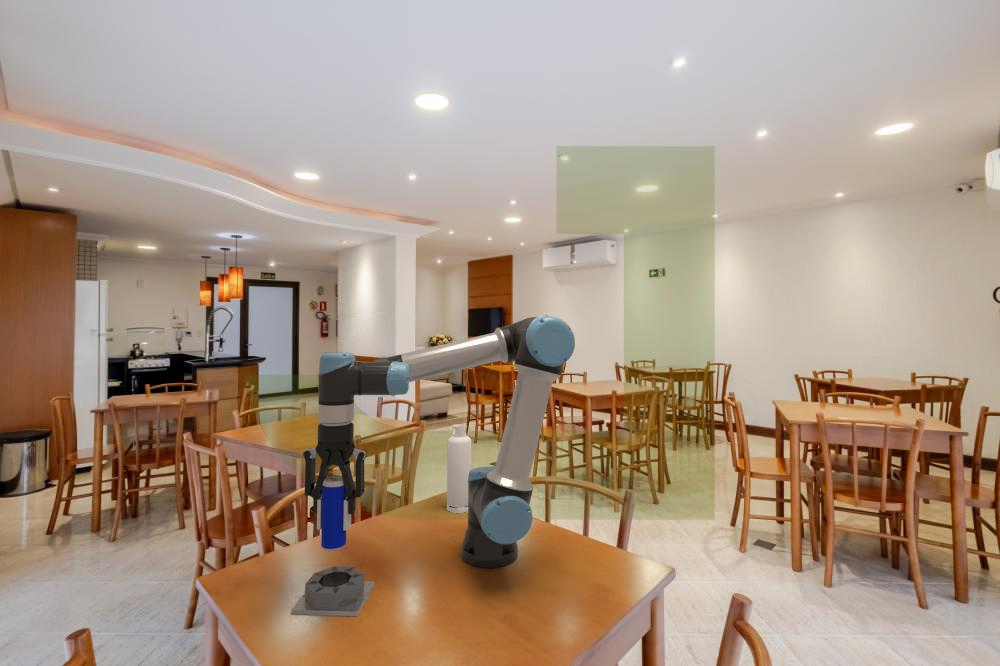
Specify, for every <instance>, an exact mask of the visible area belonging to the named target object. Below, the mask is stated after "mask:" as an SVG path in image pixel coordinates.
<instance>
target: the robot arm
mask: <svg viewBox="0 0 1000 666" xmlns="http://www.w3.org/2000/svg"><path fill="white" fill-rule="evenodd" d="M575 345H576V340H575V335H574V332H573V330H572V328H571V327H570V325H569V324H568V323H567V322H566V321H565V320H564V319H562V318H560V317H557V316H553V315H548V314H547V315H540V316H532V317H527V318H524V319H522V320H519V321H516V322H513V323H511V324H507V325H505V326H501V327H496V328H495V330H494V332H491V333H487V334H483V335H479V336H474V337H471V338H470V337H469V338H466V339H461V340H457V341H453V342H448V343H443V344H440V345H433V346H430V347H426V348H423V349H418V350H417V349H416V350H413V351H407V352H404V353H401V354H396V355H392V356H388V357H385V356H382V357H378V358H376V359H374V360H373V361H357V359H356V356H355V354H354V353H352V352H325V353H323V354H321V356H320V357H319V366H318V375H317V376H318V387H317V388H318V390H317V391H318V396H317V397H318V406H317V408H318V409H317V410H318V411H317V421H318V425H317V444H316V447H315V448H314V447H313V448H308V449H307V450H305V451H304V452H303V457H304V461H305V470H304V471H305V472H304V495H305V496H306V497H311V498H312V500H313V501H312V502H313V505H312V506H313V507H312V508H313V509H312V511H313V513H314V514H317V515H316V530H318V531H320V530H322V484H323V481H324V479H325V478H327V477H328V475H329V472H330V468H331V467H332V466H336V467H338V469H339V471H340V473H341V476H342V478H343V482H344V486H345V490H346V494H347V498H346V499H345V500H344V522H343V530H346V532H347V531H348V529H350V527H351V526H352V515H353V514H354V513H355V512H356V506H357V505H356V499H357V498H361V497H362V495H363V494H364V493H365V460H366V457H367V454H368V451H367V450H366V449H363V450H361V449H358V448H356V445H355V444H354V438H355V437H354V435H355V434H354V432H355V431H354V422H353V421H354V419H355V417H354V416H355V396H392V397H394V396H399V395H406V394H407V393H408V392H409V389H410V383H411V382H416V381H420V380H425V379H428V378H433V377H437V376H441V375H444V374H450V373H453V372H457V371H462V370H466V369H470V368H474V367H478V366H483V365H486V364H487V365H488V364H491V363H495V362H499V361H500V362H503V363H504V364H507V363H511V362H514V364H513V365H514V368H515V369H516V371H517V376H516V377H517V378H516V381H515V385H514V389H513V393H512V397H511V398H512V399H511V403H510V406H509V410H508V413H507V418H506V422H505V426H504V430H503V433H502V439H501V443H500V447H499V450H498V453H497V458H496V462H495V466H494V465H493V466H492V465H491V466H480V467H475V468H471V471H470V472H469V476H468V506H467V507H468V512H467V526H466V531H465V533H464V537H463V539H462V541H461V546H460V549H461V550H460V556H461V558H462V560H463V561H464V562H465V563H467V564H469V565H471V566H475V567H478V568H479V567H480V568H485V569H488V568H491V569H492V568H500V567H504V566H508V565H510V564H512V563H513V562H515V561H516V560H517V558H518V556H519V555H518V554H519V553H518V552H519V549H518V543H517V542H518V541H520V540H521V539H523V538H525V536H526V535H527V534H528V533H529V531H530V530H531V528H532V524H533V510H532V507H531V506H530V504H531V500H532V496H533V491H534V486H533V484H532V482H531V480H530V476H531V472H532V468H533V464H534V460H535V456H536V452H537V448H538V444H539V443H538V442H539V438H540V436H541V435H540V434H541V432H542V427H543V423H544V418H545V415H546V411H547V407H548V403H549V398H550V394H551V390H552V386H553V383H554V381H556V380H557V379H559V378H561V376H562V371H563V369H564V364H565V363H566V362H567V361H569V359H570V358H572V355H573V353H574V351H575V347H576V346H575ZM317 455H318V456H319V458H320V460H321V462H320V465H319V473H318V476H317V478H316V464H317V463H316V461H317V460H316V457H317ZM352 455H353V456H354V457H353V458H354V460H355V467H354V468H355V470H354V471H355V482H354V478H353V477H354V476H353V474H352V473H353V472H352V470H351V462H350V458H351V457H352ZM316 479H317V480H316ZM315 482H316V483H315Z"/></svg>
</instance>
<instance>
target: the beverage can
mask: <svg viewBox="0 0 1000 666" xmlns="http://www.w3.org/2000/svg"><path fill="white" fill-rule="evenodd" d="M321 496H322V528H321V537H320V538H321V545H320V546H321V548H322V549H323V550H324V551H327V552H335V551H339V550H341V549H343V548H344V547H345V546H346V543H347V531H346V530H343V522H344V500H345V499H346V498H347V494H346V490H345V486H344V482H343V478H342V475H332V476H327V478H325V479H324V481H323V484H322V495H321Z"/></svg>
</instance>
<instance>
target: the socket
mask: <svg viewBox="0 0 1000 666" xmlns="http://www.w3.org/2000/svg"><path fill="white" fill-rule="evenodd" d="M374 587H375V581H373V580H372V581H371V580H370V581H368V580H367V581H366V580H365V574H364V573H363V572H362V571H360V570H359V569H358V568H356V567H355V566H337V565H334V566H331V567H328V568H325V569H322V570H319V571H316V572H314V573H313V574H312V575H311V576H310V578H309V579H308V580H307V581H306V583H305V584H304V593H303V595H302V596H300V598H299V599H298V601H296V603H295V604H294V606H293V607H292V608H291V609H290V615H292V616H293V615H294V616H329V617H330V616H331V617H332V616H333V617H358V616H359V614H360V612H361V610H362V609H363V608H364V605H365V603H366V602H367V600H368V597H369V596H370V595H371V592H372V591H373V589H374Z"/></svg>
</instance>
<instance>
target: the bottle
mask: <svg viewBox="0 0 1000 666" xmlns="http://www.w3.org/2000/svg"><path fill="white" fill-rule="evenodd" d="M467 427H468V425H466V424H463V423H462V424H461V423H455V424H452V430H453V432H452V436H450V437H449V438H448V439H447V444H446V445H447V448H446V449H447V451H446V454H447V456H446V458H447V461H446V463H447V464H446V469H447V471H446V511H447V510H448V511H450V512H453V513H452V514H456V513H460V514H465V513H464V512H466V513H468V476H469V472H470V471H471V470H472V439H471V438H470V436H468V434H467ZM450 506H451V507H450ZM448 511H447V512H448ZM450 512H449V513H450Z"/></svg>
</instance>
